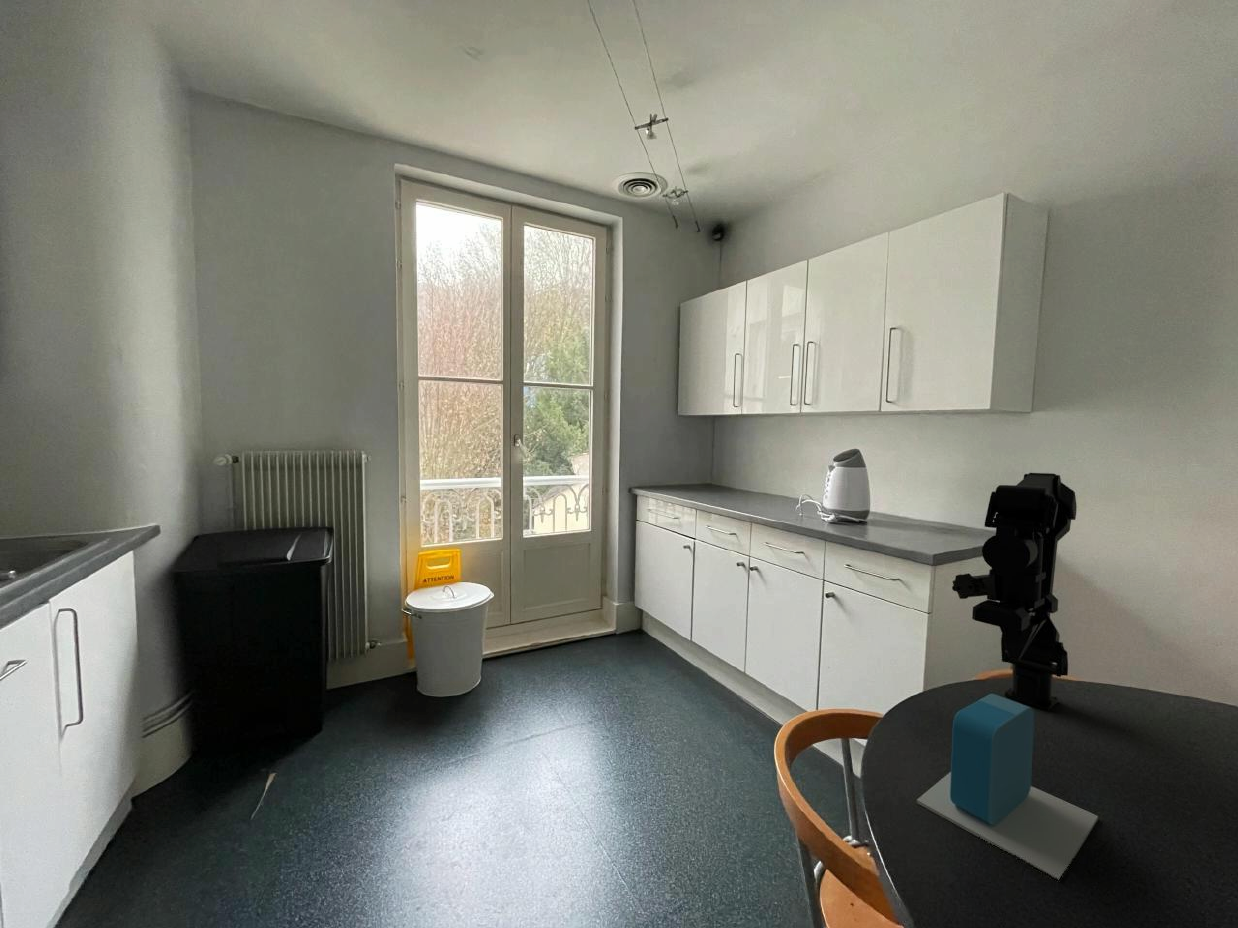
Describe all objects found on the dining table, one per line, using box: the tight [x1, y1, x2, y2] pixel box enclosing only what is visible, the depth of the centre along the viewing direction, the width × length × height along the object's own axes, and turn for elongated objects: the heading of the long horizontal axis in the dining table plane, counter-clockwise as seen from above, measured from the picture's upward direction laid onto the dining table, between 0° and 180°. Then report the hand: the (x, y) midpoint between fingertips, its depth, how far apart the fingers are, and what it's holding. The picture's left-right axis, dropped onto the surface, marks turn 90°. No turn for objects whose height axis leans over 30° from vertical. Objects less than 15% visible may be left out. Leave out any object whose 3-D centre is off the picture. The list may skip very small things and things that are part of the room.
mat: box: [916, 771, 1099, 880], centre depth 62 cm, size 16×14×1 cm
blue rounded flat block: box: [950, 693, 1035, 825], centre depth 63 cm, size 12×4×12 cm, turn 122°
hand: (1014, 659), depth 80 cm, fingers closed
